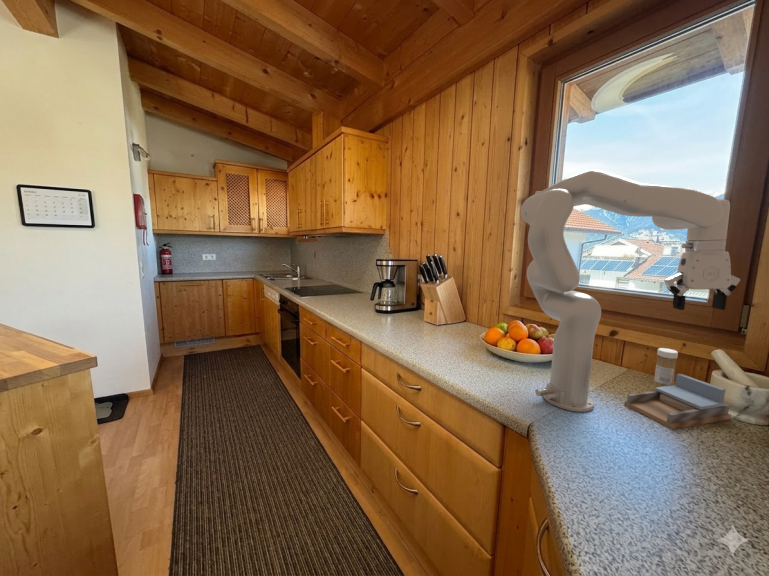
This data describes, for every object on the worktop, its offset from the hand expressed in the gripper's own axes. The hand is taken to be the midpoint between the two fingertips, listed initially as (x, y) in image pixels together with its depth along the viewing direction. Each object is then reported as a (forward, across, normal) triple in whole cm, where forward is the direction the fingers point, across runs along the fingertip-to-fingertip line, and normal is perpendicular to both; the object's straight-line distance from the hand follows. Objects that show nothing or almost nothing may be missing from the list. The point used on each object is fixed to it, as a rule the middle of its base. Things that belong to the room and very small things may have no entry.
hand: (698, 308), depth 86 cm
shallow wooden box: (+27, -9, -8) cm, 29 cm away
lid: (+23, -5, -6) cm, 25 cm away
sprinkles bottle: (+27, -4, +4) cm, 28 cm away
